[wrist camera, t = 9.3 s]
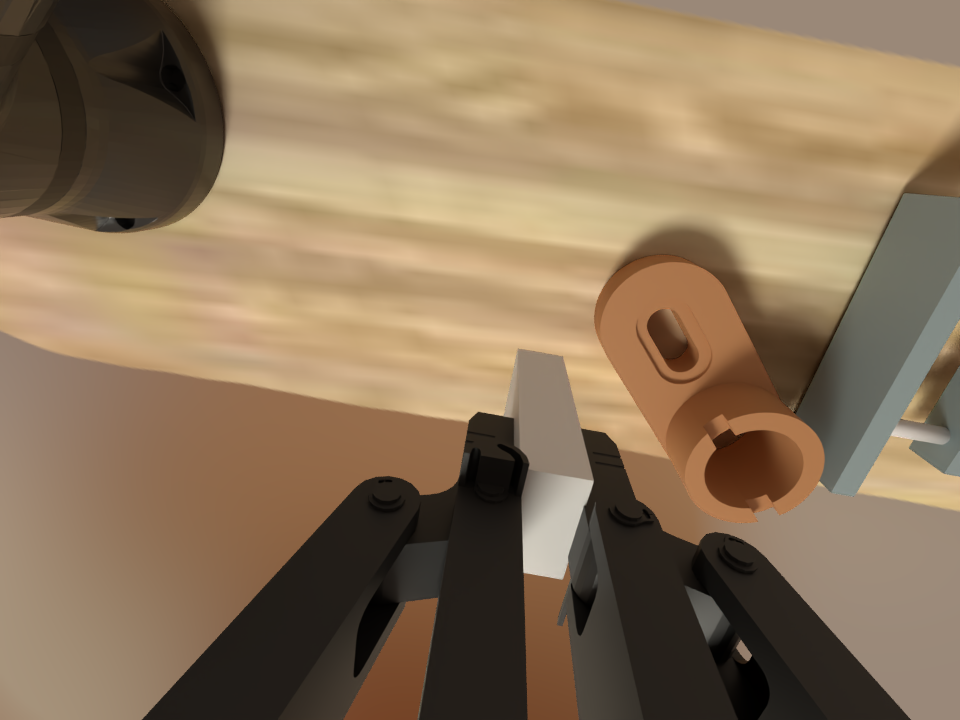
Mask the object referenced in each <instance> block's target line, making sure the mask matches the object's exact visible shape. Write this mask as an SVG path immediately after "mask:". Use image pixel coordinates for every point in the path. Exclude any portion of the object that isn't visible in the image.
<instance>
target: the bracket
mask: <svg viewBox="0 0 960 720" xmlns="http://www.w3.org/2000/svg"><path fill="white" fill-rule="evenodd" d="M661 309H671V311H672V313H673V314H674V316H675V318H676V320H677V322H678V324H679V325H680V327H681V329H682V331H683V333H684V335H685V336H686V338H687V341H688V346H687V349H686V351H685V352H684V354H683V355H681V356H680V357H678V358H676V359H671V360H669V359H664V358H663V357H662V356H661V354H660V352H659V350H658V349H657V347H656V345H655V343H654V342H653V340H652V338H651V336H650V335H649V333H648V330H647V322H648V320H649V318H650V316H651V315H652V314H653V313H655V312H656V311H658V310H661ZM594 323H595V329H596V333H597V336H598V338H599V341H600V343H601V345H602V347H603V349H604V351H605V353H606V355H607V357H608V359H609V360H610V362H611V364H612V365H613V367H614V368H615V370H616V372H617V373H618V375H619V377H620V378H621V380H622V381H623V383H624V385H625V386H626V388H627V390H628V391H629V393H630V394H631V396H632V398H633V399H634V401H635V403H636V404H637V406H638V408H639V409H640V411H641V412H642V414H643V416H644V417H645V419H646V421H647V422H648V424H649V425H650V427H651V429H652V430H653V432H654V434H655V435H656V437H657V438H658V440H659V442H660V443H661V445H662V447H663V448H664V450H665V451H666V453H667V455H668V456H669V458H670V460H671V461H672V463H673V465H674V467H675V469H676V471H677V473H678V475H679V477H680V479H681V481H682V482H683V484H684V486H685V488H686V490H687V492H688V494H689V496H690V497H691V499H692V501H693V502H694V503H695V504H696V505H697V506H698V507H699V508H700V509H701V510H702V511H704V512H705V513H707V514H709V515H710V516H712V517H715V518H717V519H720V520H724V521H728V522H735V523H751V522H758V521H757V519H756V517H755V515H754V514H753V513H755V512H760V511H763V510H766V509H769V508H771V507H774V508H775V510H776V511H777V512H778V514H779V515H781V514H784V513H786V512H788V511H789V510H791V509H793V508H794V507H796V506H797V505H799V504H800V503H801V502H802V501H804V499H806V498H807V496H809V494H810V493H811V492H812V491H813V490H814V488H815V487H816V485H817V484H818V482H819V480H820V478H821V475H822V472H823V469H824V462H825V455H824V449H823V446H822V443H821V441H820V439H819V437H818V436H817V434H816V433H815V432H814V431H813V430H812V429H811V428H810V427H809V426H808V425H807V424H806V423H805V422H803V421H802V420H801V419H800V418H799V417H798V416H797V415H796V414H795V413H793V412H792V411H791V410H790V409H789V408H788V407H787V406H786V405H785V404H783V403H782V402H781V400H780V398H779V396H778V394H777V392H776V390H775V388H774V386H773V384H772V382H771V380H770V378H769V376H768V374H767V372H766V370H765V368H764V366H763V364H762V362H761V360H760V358H759V356H758V354H757V352H756V350H755V348H754V346H753V344H752V342H751V340H750V338H749V336H748V334H747V332H746V330H745V328H744V326H743V324H742V322H741V320H740V318H739V316H738V314H737V312H736V310H735V308H734V306H733V304H732V302H731V300H730V298H729V296H728V294H727V292H726V290H725V288H724V286H723V285H722V284H721V283H720V281H719V280H718V279H717V278H716V277H715V276H713V275H712V274H711V273H710V272H708V271H706V270H705V269H703V268H701V267H699V266H697V265H696V264H694V263H692V262H690V261H688V260H686V259H684V258H681V257H677V256H672V255H653V256H647V257H643V258H641V259H638V260H635V261H633V262H631V263H629V264H627V265H626V266H624V267H623V268H621V269H620V270H619V271H617V272H616V273H615V274H614V275H613V276H612V277H611V278H610V279H609V281H608V282H607V283H606V285H605V286H604V288H603V289H602V291H601V293H600V295H599V297H598V300H597V303H596V307H595V314H594ZM728 429H731V430H732V432H733V433H734V434H735V435H738V434H741V433H744V432H746V433H745V434H744V435H743V436H742V437H741V438H740V439H739V440H737V441H736V442H734V443H733V444H731V445H729V446H727V447H724V448H721V449H717V450H716V447H715V445H714V444H713V442H712V440H713V439H714V438H716V437H717V436H718V435H719V434H721V433H723V432H724V431H726V430H728Z"/></svg>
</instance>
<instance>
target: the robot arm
mask: <svg viewBox="0 0 960 720" xmlns="http://www.w3.org/2000/svg"><path fill="white" fill-rule="evenodd" d="M222 151H223V119H222V112H221V106H220V101H219V97H218V93H217V90H216V86H215V83H214V80H213V78H212V75H211V73H210V70H209V68H208V65H207V63H206V61H205V59H204V57H203V55H202V53H201V52H200V50H199V48H198V46H197V44H196V43H195V41H194V40H193V38H192V37H191V35H190V34H189V32H188V31H187V29H186V28H185V27H184V25H183V24H182V23H181V22H180V20H179V19H178V18H177V17H176V16H175V15H174V13H173V12H172V11H171V10H170V9H169V8H168V7H167V6H166V5H165V4H164V3H163V2H162V1H161V0H0V218H6V217H15V216H28V217H33V218H38V219H42V220H47V221H51V222H56V223H61V224H65V225H70V226H74V227H79V228H84V229H88V230H93V231H98V232H106V233H131V232H139V231H144V230H150V229H155V228H160V227H164V226H167V225H170V224H172V223H175V222H177V221H179V220H181V219H183V218H184V217H186V216H187V215H189V214H190V213H191V212H192V211H194V210H195V209H196V208H197V207H198V206H199V205H200V203H201V202H202V201H203V200H204V198H205V197H206V196H207V194H208V193H209V191H210V189H211V187H212V185H213V183H214V181H215V179H216V176H217V173H218V170H219V167H220V163H221V158H222ZM620 457H621V456H620V454H619V451H618V448H617V445H616V444H615V443H614V442H613V441H612V440H611V439H610V438H609V437H608V435H607V434H606V433H603V432H597V431H591V430H586V429H581V427H580V423H579V419H578V415H577V411H576V407H575V403H574V399H573V395H572V391H571V387H570V383H569V379H568V375H567V371H566V367H565V363H564V359H563V356H557V355H552V354H546V353H540V352H535V351H529V350H523V349H518V350H517V355H516V360H515V364H514V369H513V374H512V379H511V383H510V388H509V393H508V398H507V402H506V407H505V412H504V416H499V415H493V414H487V413H482V412H478V413H477V414H475V415H474V416H473V417H472V418H471V419H470V420H469V424H468V430H467V436H466V441H465V447H464V453H463V458H462V464H461V470H460V475H459V479H458V481H457V483H456V484H455V485H454V486H453V487H452V488H450V489H448V490H447V491H444V492H441V493H438V494H431V495H420V494H419V491H418V490H417V489H416V488H415V487H414V486H413V485H412V484H411V483H409V482H407V481H405V480H403V479H400V478H395V477H390V476H386V477H375V478H372V479H369V480H366V481H364V482H362V483H361V484H360V485H358V486H357V487H356V488H355V489H354V490H353V491H352V492H351V493H350V494H349V495H348V496H347V497H346V499H345V500H344V501H343V502H342V503H341V504H340V505H339V506H338V507H337V508H336V510H334V512H333V513H332V514H331V515H330V516H329V517H328V518H327V519H326V520H325V521H324V523H323V524H322V525H321V526H320V527H319V528H318V529H317V530H316V531H315V532H314V533H313V535H312V536H311V537H310V538H309V539H308V540H307V541H306V542H305V543H304V544H303V545H302V546H301V548H300V549H299V550H298V551H297V552H296V553H295V554H294V555H293V556H292V557H291V559H290V560H289V561H288V562H287V563H286V564H285V565H284V566H283V567H282V568H281V569H280V570H279V572H277V574H276V575H275V576H274V577H273V578H272V579H271V580H270V581H269V582H268V583H267V585H265V587H264V588H263V589H262V590H261V591H260V592H259V593H258V594H257V595H256V596H255V598H254V599H253V600H252V601H251V602H250V603H249V604H248V605H247V606H246V607H245V608H244V609H243V611H242V612H241V613H240V614H239V615H238V616H237V617H236V618H235V619H234V620H233V621H232V622H231V623H230V625H229V626H228V627H227V628H226V629H225V630H224V631H223V632H222V633H221V634H220V635H219V637H218V638H217V639H216V640H215V641H214V642H213V643H212V644H211V645H210V646H209V647H208V649H207V650H206V651H205V652H204V653H203V654H202V655H201V656H200V657H199V658H198V659H197V660H196V662H195V663H194V664H193V665H192V666H191V667H190V668H189V669H188V670H187V671H186V672H185V674H184V675H183V676H182V677H181V678H180V679H179V680H178V681H177V682H176V683H175V684H174V685H173V687H172V688H171V689H170V690H169V691H168V692H167V693H166V694H165V695H164V696H163V697H162V698H161V700H160V701H159V702H158V703H157V704H156V705H155V706H154V707H153V708H152V709H151V710H150V712H149V713H148V714H147V715H146V716H145V717H144V718H143V719H142V720H343V718H344V717H345V715H346V713H347V712H348V709H349V708H350V706H351V704H352V702H353V701H354V699H355V697H356V695H357V693H358V691H359V690H360V688H361V686H362V684H363V682H364V680H365V679H366V677H367V675H368V673H369V671H370V669H371V668H372V666H373V664H374V662H375V660H376V658H377V657H378V655H379V653H380V651H381V649H382V647H383V646H384V644H385V642H386V640H387V638H388V636H389V635H390V633H391V631H392V629H393V627H394V625H395V624H396V622H397V620H398V618H399V616H400V614H401V613H402V611H403V609H404V607H405V603H406V602H407V601H415V600H422V599H430V598H438V602H437V608H436V614H435V620H434V626H433V632H432V638H431V644H430V650H429V655H428V661H427V667H426V673H425V679H424V685H423V691H422V697H421V703H420V709H419V714H418V720H527V686H526V685H527V683H526V646H525V610H524V575H523V574H524V573H529V574H534V575H540V576H546V577H552V578H557V579H563V577H564V574H565V571H566V567H567V564H568V561H569V568H570V576H571V579H570V582H569V585H568V588H567V591H566V595H565V597H564V600H563V604H562V607H561V610H560V613H559V616H558V623H557V624H558V625H560V626H562V625H563V622H564V619H565V617H566V615H567V618H568V627H569V636H570V644H571V653H572V661H573V671H574V680H575V688H576V697H577V706H578V715H579V720H911V719H910V718H909V717H908V716H907V715H906V714H905V713H904V712H903V710H902V709H901V708H900V707H899V706H898V705H897V704H896V703H895V701H894V700H893V699H892V698H891V697H890V696H889V695H888V694H887V692H886V691H884V689H883V688H882V687H881V686H880V685H879V684H878V682H877V681H876V680H875V679H874V678H873V677H872V676H871V675H870V674H869V672H868V671H867V670H866V669H865V668H864V667H863V666H862V665H861V663H860V662H859V661H858V660H857V659H856V658H855V657H854V656H853V654H851V652H850V651H849V650H848V649H847V648H846V647H845V646H844V645H843V643H842V642H841V641H840V640H839V639H838V638H837V637H836V635H834V633H833V632H832V631H831V630H830V629H829V628H828V627H827V625H825V623H824V622H823V621H822V620H821V619H820V618H819V617H818V615H817V614H816V613H815V612H814V611H813V610H812V609H811V608H810V606H809V605H808V604H807V603H806V602H805V601H804V600H803V599H802V598H801V596H800V595H799V594H798V593H797V592H796V591H795V590H794V589H793V588H792V586H791V585H790V584H789V583H788V582H787V581H786V580H785V578H784V577H783V576H781V574H780V573H779V572H778V571H777V569H776V568H775V567H774V566H773V565H772V564H771V563H770V562H769V561H768V559H767V558H766V557H765V556H764V555H762V554H761V553H760V552H759V551H758V550H757V549H756V548H754V547H753V546H751V545H750V544H748V543H746V542H744V541H743V540H742V539H739V538H737V537H735V536H731V535H729V534H724V533H717V532H714V533H709V534H706V535H705V536H704V537H703V538H702V539H701V541H700V544H699V545H698V546H697V545H695V544H692V543H690V542H687V541H685V540H682V539H680V538H677V537H675V536H673V535H671V534H668V533H666V532H664V531H663V530H662V528H661V525H660V523H659V520H658V519H657V517H656V516H655V514H654V513H653V512H652V511H651V510H650V509H649V508H648V507H646V505H644V504H643V503H641V502H639V501H638V500H636V498H635V495H634V492H633V490H632V487H631V484H630V482H629V479H628V476H627V473H626V470H625V469H624V465H623V462H622V459H620ZM740 640H742V641H743V643H744V644H745V646H746V647H747V648H748V650H749V651H750V653H751V654H752V657H751V658H750V660H749V661H746V660H745V659H744V658H743V657H742V656H741V655H740V653H739V652H738V650H737V649H736V647H737V645H738V643H739V642H740Z"/></svg>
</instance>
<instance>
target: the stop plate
mask: <svg viewBox="0 0 960 720" xmlns="http://www.w3.org/2000/svg"><path fill="white" fill-rule="evenodd" d="M959 319H960V197H947V196H935V195H922V194H910V193H904V194H903V196H902V198H901V200H900V203H899V205H898V207H897V209H896V211H895V213H894V215H893V217H892V219H891V221H890V223H889V225H888V227H887V229H886V231H885V233H884V235H883V237H882V239H881V241H880V243H879V245H878V247H877V249H876V251H875V253H874V256H873V258H872V260H871V262H870V264H869V266H868V268H867V270H866V272H865V274H864V276H863V278H862V280H861V282H860V284H859V286H858V288H857V290H856V292H855V294H854V296H853V298H852V300H851V302H850V304H849V307H848V309H847V311H846V313H845V315H844V317H843V319H842V321H841V323H840V325H839V327H838V329H837V331H836V333H835V335H834V337H833V339H832V341H831V343H830V345H829V347H828V349H827V351H826V353H825V355H824V357H823V360H822V362H821V364H820V366H819V368H818V370H817V372H816V374H815V376H814V378H813V380H812V382H811V384H810V386H809V388H808V390H807V392H806V394H805V396H804V398H803V400H802V402H801V404H800V406H799V408H798V410H797V413H796V415H797V416H798V417H799V418H800V419H801V420H802V421H803V422H805V423H806V424H807V425H808V426H809V427H810V428H811V429H812V430H813V431H814V432H815V433H816V434H817V436H818V437H819V439H820V441H821V443H822V446H823V449H824V455H825V462H824V469H823V472H822V475H821V478H820V480H819V481H820V482H821V483H822V484H823V485H824V486H825V487H826V488H827V489H828V490H829V491H830V492H831V493H835V494H841V495H846V496H852V497H854V496H855V494H856V493H857V491H858V489H859V488H860V486H861V484H862V483H863V481H864V479H865V478H866V476H867V474H868V473H869V471H870V469H871V468H872V466H873V464H874V462H875V461H876V459H877V457H878V456H879V454H880V452H881V451H882V449H883V447H884V446H885V444H886V442H887V441H888V439H889V437H890V436H895V437H901V438H906V439H912V440H913V442H912V444H911V445H910V447H909V449H911V450H912V451H913V452H915V453H916V454H917V455H919V456H920V457H922V458H923V459H924V460H926V461H927V462H928V463H930V464H931V465H933V466H934V467H935V468H937V469H938V470H939V471H941V472H942V473H944V474H948V475H954V476H959V477H960V366H959V368H958V369H957V371H956V372H955V374H954V376H953V377H952V379H951V381H950V382H949V384H948V385H947V387H946V389H945V390H944V392H943V393H942V395H941V397H940V398H939V400H938V402H937V403H936V405H935V406H934V408H933V410H932V411H931V413H930V414H929V416H928V418H927V419H926V421H925V423H919V422H914V421H908V420H903V419H901V417H902V415H903V414H904V412H905V410H906V409H907V407H908V405H909V403H910V402H911V400H912V398H913V397H914V395H915V393H916V392H917V390H918V388H919V387H920V385H921V383H922V382H923V380H924V378H925V377H926V375H927V373H928V371H929V370H930V368H931V366H932V365H933V363H934V361H935V360H936V358H937V356H938V355H939V353H940V351H941V350H942V348H943V346H944V344H945V343H946V341H947V339H948V338H949V336H950V334H951V333H952V331H953V329H954V328H955V326H956V324H957V323H958V321H959Z"/></svg>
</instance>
